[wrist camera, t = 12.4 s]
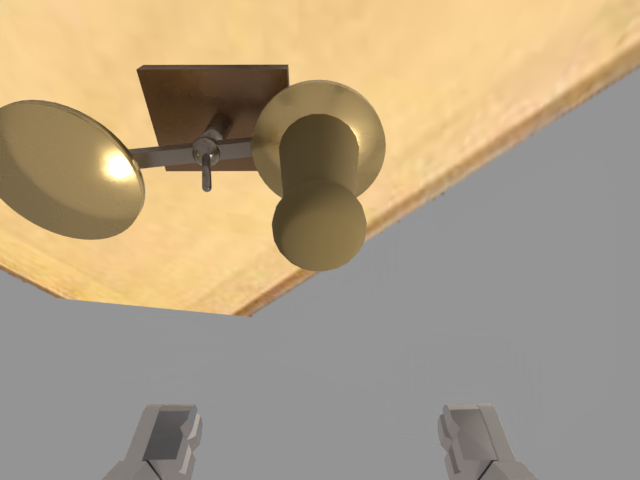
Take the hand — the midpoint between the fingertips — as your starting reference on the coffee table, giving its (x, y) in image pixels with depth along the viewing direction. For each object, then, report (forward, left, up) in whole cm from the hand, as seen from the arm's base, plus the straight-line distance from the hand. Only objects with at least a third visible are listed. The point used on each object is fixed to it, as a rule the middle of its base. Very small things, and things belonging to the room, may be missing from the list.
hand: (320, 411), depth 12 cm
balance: (+9, 0, -27) cm, 28 cm away
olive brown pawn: (0, 0, -20) cm, 20 cm away
